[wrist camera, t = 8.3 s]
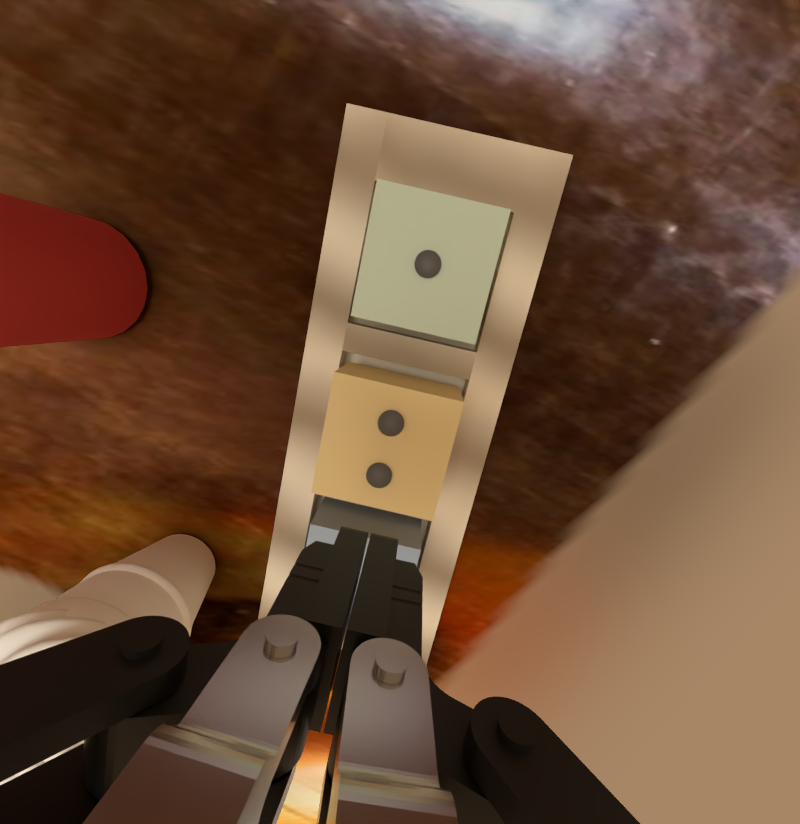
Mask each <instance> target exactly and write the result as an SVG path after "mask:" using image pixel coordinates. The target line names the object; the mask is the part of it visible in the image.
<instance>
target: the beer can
mask: <svg viewBox="0 0 800 824" xmlns="http://www.w3.org/2000/svg"><path fill="white" fill-rule="evenodd" d="M147 290H148V288H147V280H146V272H145V268H144V266H143V264H142V262H141V259H140V257H139V255H138V252H137V251H136V250H135V249H134V247H133V246H132V245H131V244H130V242H129V241H128V240H127V239H126V237H125V236H124V235H123V234H121V233H120V232H119V231H117V230H116V229H114V228H113V227H112V226H110V225H109V224H107V223H104V222H101V221H98V220H95V219H92V218H89V217H85V216H82V215H78V214H75V213H71V212H67V211H64V210H60V209H57V208H53V207H49V206H46V205H42V204H39V203H35V202H31V201H28V200H24V199H20V198H17V197H13V196H10V195H6V194H2V193H0V347H7V346H19V345H30V344H42V343H54V342H66V341H77V340H89V339H101V338H109V337H112V336H115V335H117V334H120V333H123V332H124V331H125V330H127V329H128V328H129V327H130V326H131V325H132V324H133V323H135V322H136V321H137V319H138V317H139V315H140V314H141V312H142V310H143V308H144V306H145V301H146V295H147Z"/></svg>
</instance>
